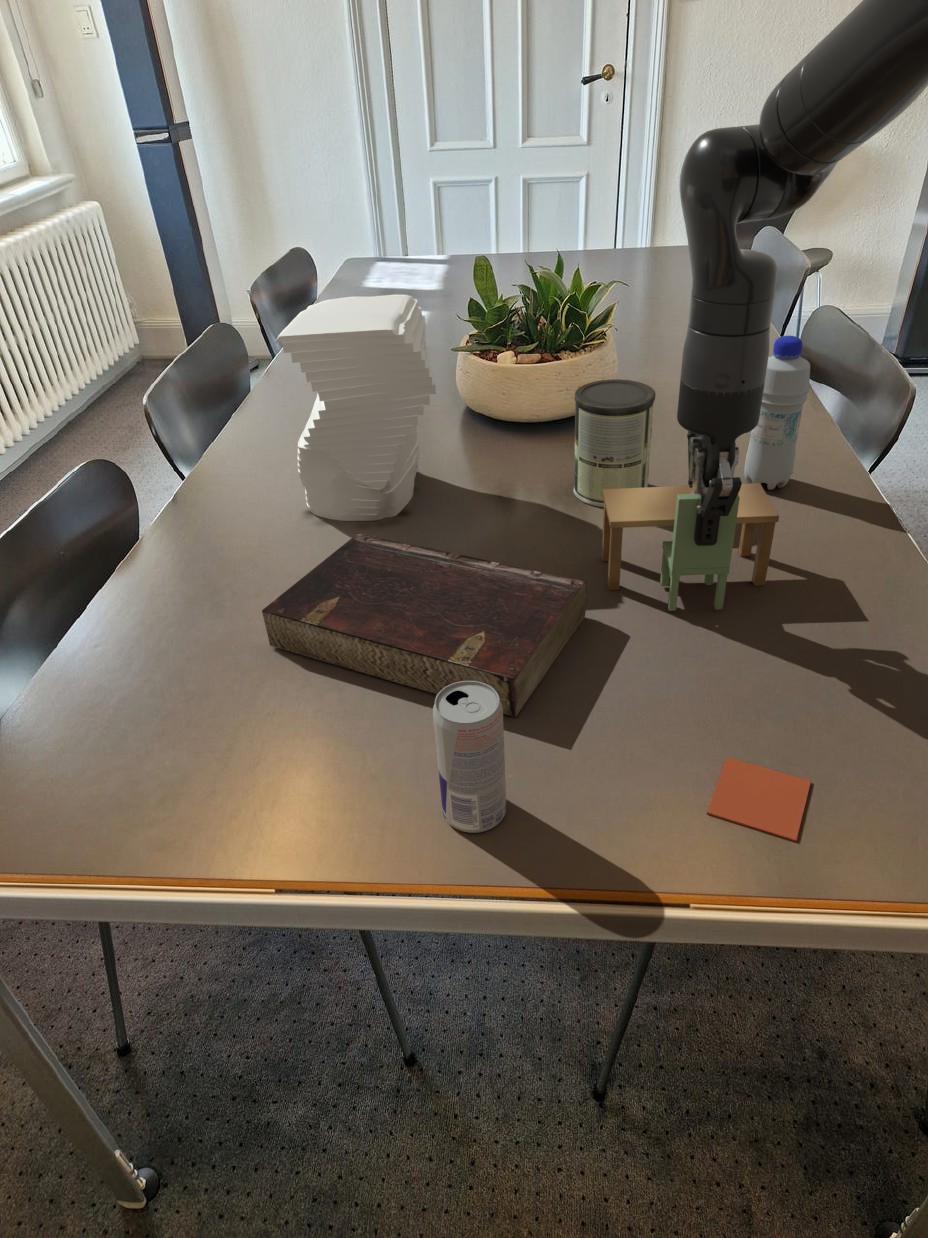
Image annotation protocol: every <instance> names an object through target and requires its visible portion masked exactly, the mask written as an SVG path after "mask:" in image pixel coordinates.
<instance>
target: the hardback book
mask: <svg viewBox="0 0 928 1238" xmlns="http://www.w3.org/2000/svg"><path fill="white" fill-rule="evenodd" d="M587 590H588V589H587V581H585V580H580V579H576V578H572V577H566V576H562V575H557V574H552V573H548V572H545V571H543V572H542V571H539V570H534V569H530V568H529V569H528V568H525V567H520V566H515V565H510V564H505V563H501V562H497V561H492V560H487V559H482V558H477V557H473V556H468V555H465V554H459V553H456V552H455V553H454V552H450V551H445V550H441V549H436V548H431V547H427V546H422V545H417V544H413V543H408V542H402V541H399V540H394V539H389V538H384V537H379V536H375V535H371V534H365V533H360V532H357V533H356V534H355V535H353V537H351V538H350V539H349V540H347V541H346V542H345V543H344V544H342V545H341V546H339V548H337V549H336V550H335V551H333V553H331V554H330V555H329V556H327V557H326V558H325V559H324V560H323V561H321V562H319V564H318V565H316V566H314V568H312V569H311V570H310V571H308V573H307V574H305V575H304V576H302V577H301V578H300V579H299V580H298V581H296V582H295V583H294V584H292V586H290V587H289V588H288V589H286V590H285V591H284V592H282V593H281V594H280V595H278V597H276V598H275V599H274V600H273V601H271V602H270V603H268V605H267V606H265V607H264V608H263V609H262V610H261V613H262V618H263V621H264V626H265V630H266V634H267V638H268V639H267V640H268V643H269V646H270V647H273V648H277V649H281V650H283V651H287V652H291V653H295V654H298V655H301V656H303V657H308V658H311V659H315V660H318V661H322V662H325V663H328V664H331V665H335V666H338V667H342V668H346V669H349V670H352V671H356V672H359V673H363V674H365V675H370V676H373V677H376V678H380V679H383V680H386V681H390V682H394V683H397V684H401V685H404V686H407V687H411V688H414V689H418V690H421V691H424V692H428V693H432V694H435V695H437V694H438V693H439V692H440V691H441V690H442V689H443V688H445V687H446V686H448V685H450V684H453V683H456V682H460V681H478V682H482V683H485V684H487V685H489V686H491V687H492V688H493V689H494V690H495V691H496V692H497V694H498V696H499V700H500V701H501V703H502V708H503V715H507V716H511V717H513V718H516V717H517V716H518V714H520V711H521V710H522V709H523V707H524V706H525V704H526V703H527V702H528V700H529V699H530V697H531V696H532V694H533V693H534V692H535V690H536V689H537V687H539V686H538V685H539V684H540V683H541V682H542V680H543V678H544V677H545V676H546V675H547V673H548V671H549V670H550V668H551V667H552V665H553V664H554V662H555V661H556V659H557V658H558V657H559V655H560V654H561V653H562V651H563V649H564V648H565V646H566V645H567V644H568V642H570V641H569V640H570V639H571V637H572V636H574V634H575V632H576V630H577V629H578V628H579V626H580V625H581V623H582V622H583V620H584V619H585V618H586V611H587Z"/></svg>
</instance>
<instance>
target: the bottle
mask: <svg viewBox="0 0 928 1238" xmlns="http://www.w3.org/2000/svg"><path fill="white" fill-rule="evenodd" d="M773 343H774V344H773V348H772V356H769V357H768V364H767V371H766V377H765V384H764V391H763V397H762V404H761V411H760V418H759V422H758V424H757V426H756V427H755V428H754V429H753V430H751V431H750V436H749V437H750V438H749V443H748V447H747V450H746V456H745V461H744V471H743V472H744V473H743V474H744V479H745V481H746V482H747V484H750V483H760V484H761V485H762V484H766V485H767V486H766V487H767V490H768V491H773V490H774V489H775V488H776V486H777V488H779V489H782V488H784V487H785V486H786V485H787V484H788V483H789V480H790V478H791V476H792V475H793V473H794V472H793V471H794V467H795V458H796V448H797V441H798V436H799V431H800V425H801V420H802V414H803V408H804V404H805V402H807V400H808V393H809V391H810V389H811V388H810V387H811V386H810V379H811V378H810V377H811V363H810V362H809V361H808V360H807V359H805V358H803V357H801V356H802V355H801V354H802V350H803V341H802V339H801V338H800V337H798V336H795V335H781V336H779V337H777V339H775V341H774V342H773Z"/></svg>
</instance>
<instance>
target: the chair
mask: <svg viewBox="0 0 928 1238" xmlns="http://www.w3.org/2000/svg"><path fill="white" fill-rule="evenodd" d="M739 500H740V497H739V495H737V497H736V500H735V502H734V504H733V506H732V508H731V511H730V513H729V515H728V516H720V522H719V530H718V537H717V543H716V544H715V545H710V546H698V545H696V544H695V541H694V533H695V524H696V515H697V510H696V506H697V501H698V494H678V495H677V501H676V511H675V521H674V526H673V531H672V540H663V541H662V548H661V549H662V558H661V570H660V579H659V583H660V587H669V590H668V598H667V599H668V600H667V610H668V611H669V612H675V611H677V604H678V597H679V595H678V594H679V585H680V578H681V577H680V576H699V575H700V576H704V579H703V580H704V584H705V585H706V586H710V585H711V586H712V585H713V584H714V579H715V578H714V577H715V575H717V580H716V587H715V594H714V602H713V607H714V609H715V610H723V607H724V601H725V595H726V587H727V580H728V575H729V574H730V569H731V561H732V555H733V548H734V541H735V533H736V528H737V527H736V526H737V524H736V520H737V513H738V507H739Z"/></svg>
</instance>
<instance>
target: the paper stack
mask: <svg viewBox="0 0 928 1238" xmlns="http://www.w3.org/2000/svg"><path fill="white" fill-rule="evenodd" d="M426 325H427V324H426V316H425V314H423V311H422V307H421V306H419V301H418V298H414V296H413V295H409V294H397V293H396V294H384V295H373V296H364V295H363V296H361V295H360V296H358V295H357V296H355V295H354V296H345V297H338V298H337V297H336V298H330V299H325V300H322V301H319V302H317V303H314V304H311V305H308V306H307V307H306V309H303V310H302V311H300V312H299V313H298V314H297V315H296V316H294V318H293V319H292V320H291V321H290V322H289V324H287V326H285V328H284V329H282V331H281V332H280V333H279V334H278V336H277V337H276V339H275V340H274V343H275V344H282V351H283V354H288V353H290V356H291V363H292V364H295V363H297V364H298V363H299V366H300V372H301V373H305V374H304V375H305V379H306V383H310V385H311V386H310V387H311V391H312V392H313V393H315V392H316V393H317V395H316V399H315V401H314V404H313V406H312V410H311V411H310V415H309V417H308V420H307V422H306V425H305V426H304V429H303V431H302V433H301V435H300V436H299V438H298V441H297V447H298V448H297V456H296V457H297V458H296V459H297V463H296V466H297V468H298V469H297V472H298V475H299V480H300V482H301V485H302V487H303V488H304V489H305V490H304V494H305V501H306V505H307V508H308V511H309V512H310V513H312V514H313V515H315V516H316V517H317V516H318V517H319V518H320V517H321V518H323V519H328V520H332V521H341V522H370V521H371V522H373V521H380V520H382V519H385V518H393V517H396V516H397V515H399V514H400V513H401V512H402V510H403V509H404V508H405V507H406V506H407V505H408V504H409V503H410V501H411V500H412V498H413V496H414V487H415V478H416V476H417V471H418V468H419V460H420V452H421V448H420V440H419V439H418V435H419V434H418V425H419V422H418V421H419V420H418V419H419V418H418V417H419V416H423V415H424V413H425V412H424V406H427V405H428V406H429V405H430V402H431V400H430V399H431V398H430V395H436V394H437V388H436V387H437V386H436V382H435V378H434V374H433V373H432V368H431V365H430V361H429V358H428V351H427V344H426V343H427V342H426V339H427V337H426V327H427V326H426Z"/></svg>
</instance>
